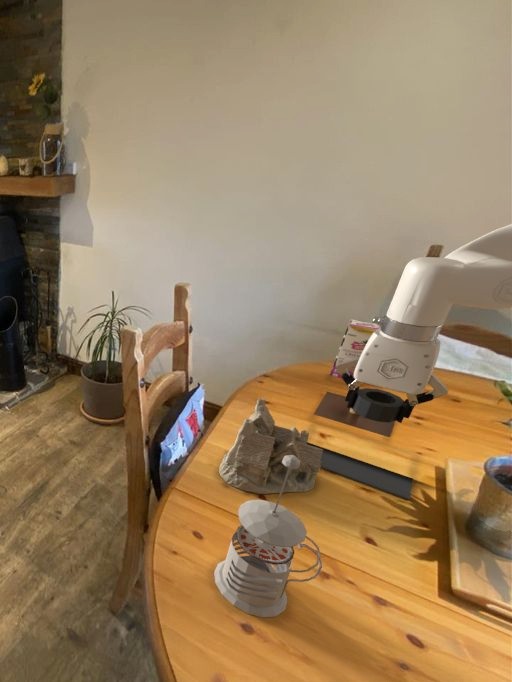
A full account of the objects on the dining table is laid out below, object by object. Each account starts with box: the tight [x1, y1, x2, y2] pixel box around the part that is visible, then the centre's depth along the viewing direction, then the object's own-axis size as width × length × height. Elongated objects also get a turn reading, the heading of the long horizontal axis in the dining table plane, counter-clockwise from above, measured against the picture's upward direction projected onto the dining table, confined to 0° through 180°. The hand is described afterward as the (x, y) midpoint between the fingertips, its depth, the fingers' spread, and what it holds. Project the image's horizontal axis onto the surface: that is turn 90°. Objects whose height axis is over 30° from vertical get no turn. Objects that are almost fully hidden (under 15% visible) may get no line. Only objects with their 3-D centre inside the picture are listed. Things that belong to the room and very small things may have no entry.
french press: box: [213, 455, 323, 619], centre depth 57 cm, size 10×12×25 cm
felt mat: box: [307, 441, 414, 501], centre depth 87 cm, size 18×18×1 cm
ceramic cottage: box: [218, 397, 323, 495], centre depth 81 cm, size 16×16×15 cm
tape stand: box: [313, 391, 396, 438], centre depth 99 cm, size 14×14×4 cm
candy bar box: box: [329, 318, 381, 379], centre depth 110 cm, size 11×5×16 cm, turn 47°
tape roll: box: [351, 387, 405, 423], centre depth 82 cm, size 7×7×4 cm
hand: (374, 411), depth 82 cm, fingers closed on tape roll, 7 cm apart
